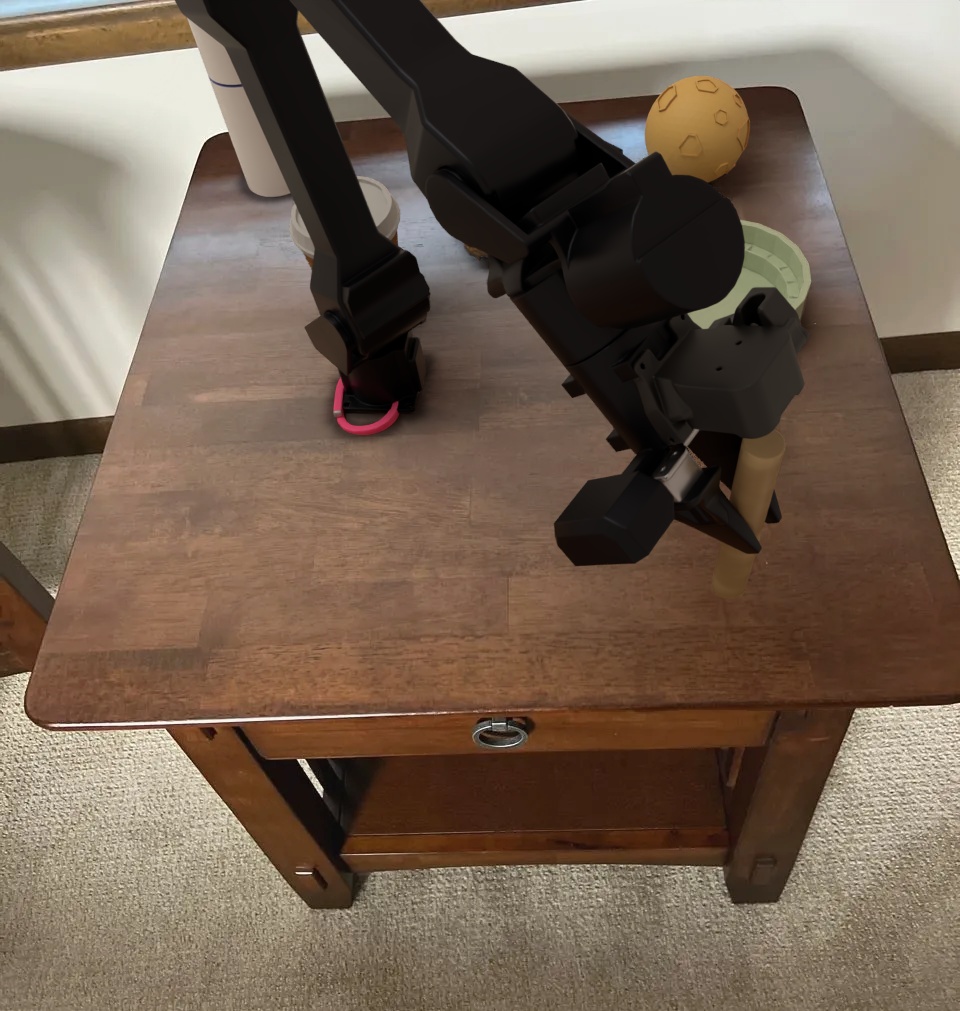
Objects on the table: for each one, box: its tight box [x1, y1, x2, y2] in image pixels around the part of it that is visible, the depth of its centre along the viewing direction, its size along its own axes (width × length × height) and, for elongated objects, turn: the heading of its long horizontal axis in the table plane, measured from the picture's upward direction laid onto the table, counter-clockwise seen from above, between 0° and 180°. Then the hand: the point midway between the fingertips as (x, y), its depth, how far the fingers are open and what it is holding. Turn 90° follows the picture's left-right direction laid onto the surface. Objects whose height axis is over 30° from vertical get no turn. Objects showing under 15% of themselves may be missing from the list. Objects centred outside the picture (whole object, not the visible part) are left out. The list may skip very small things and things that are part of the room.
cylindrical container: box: [186, 17, 291, 198], centre depth 90 cm, size 7×7×25 cm
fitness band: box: [332, 376, 400, 436], centre depth 80 cm, size 8×6×2 cm
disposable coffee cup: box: [288, 175, 401, 271], centre depth 82 cm, size 10×10×12 cm
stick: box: [711, 429, 787, 601], centre depth 54 cm, size 2×2×15 cm
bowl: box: [687, 219, 812, 329], centre depth 80 cm, size 14×14×4 cm
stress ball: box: [644, 75, 751, 183], centre depth 89 cm, size 10×10×10 cm
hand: (764, 536), depth 53 cm, fingers closed on stick, 2 cm apart
